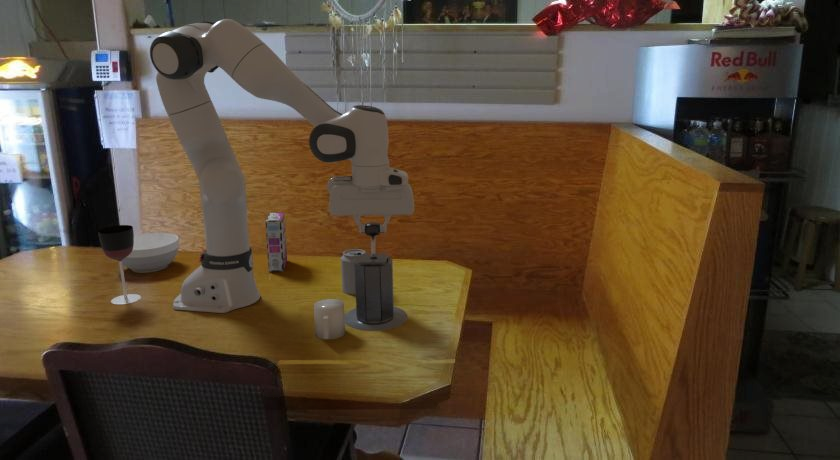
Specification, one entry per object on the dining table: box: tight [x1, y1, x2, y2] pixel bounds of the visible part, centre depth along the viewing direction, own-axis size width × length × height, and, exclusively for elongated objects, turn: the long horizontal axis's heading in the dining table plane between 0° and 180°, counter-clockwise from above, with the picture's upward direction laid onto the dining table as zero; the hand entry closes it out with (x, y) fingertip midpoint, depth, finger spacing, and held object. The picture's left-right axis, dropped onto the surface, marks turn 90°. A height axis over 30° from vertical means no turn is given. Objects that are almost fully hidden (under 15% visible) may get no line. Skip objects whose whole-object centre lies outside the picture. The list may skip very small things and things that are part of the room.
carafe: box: [355, 253, 395, 325], centre depth 153 cm, size 9×12×16 cm
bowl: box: [122, 232, 180, 274], centre depth 194 cm, size 19×19×9 cm
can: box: [340, 248, 367, 296], centre depth 171 cm, size 8×8×12 cm
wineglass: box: [97, 224, 142, 305], centre depth 167 cm, size 8×9×20 cm
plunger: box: [364, 221, 381, 266], centre depth 149 cm, size 6×6×13 cm
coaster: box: [344, 306, 408, 332], centre depth 154 cm, size 16×16×1 cm
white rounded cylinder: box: [313, 298, 346, 340], centre depth 144 cm, size 7×9×8 cm
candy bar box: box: [265, 212, 288, 273], centre depth 193 cm, size 11×5×16 cm, turn 6°
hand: (372, 232), depth 148 cm, fingers closed on plunger, 4 cm apart
